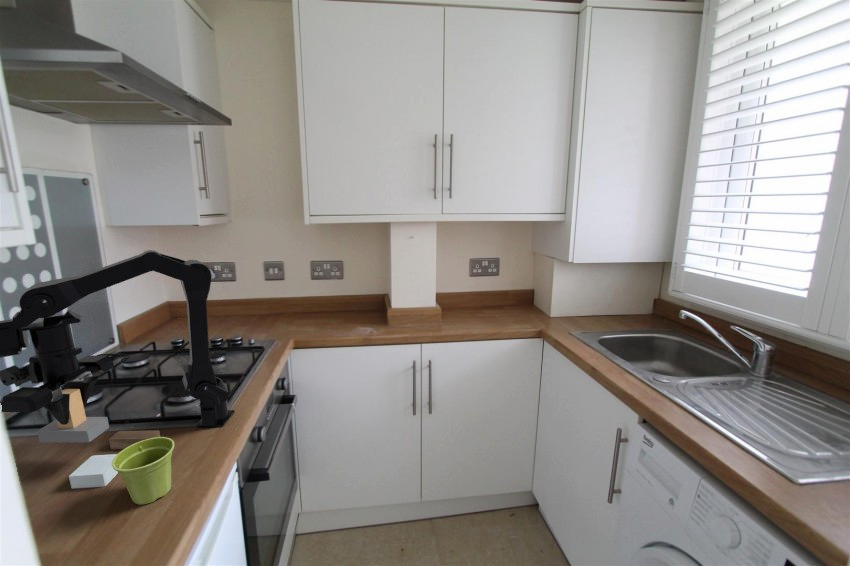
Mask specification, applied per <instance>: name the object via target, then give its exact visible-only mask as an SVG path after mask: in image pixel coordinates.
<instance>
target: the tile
mask: <svg viewBox="0 0 850 566" xmlns="http://www.w3.org/2000/svg"><path fill="white" fill-rule="evenodd" d="M117 454H118V453H113V454H112V453H111V454H100V455H99V454H95V455H91V456H90V457H89V458H87V459H86V460H85V461H84V462H83V463H81V465H80V466H78V467H77V468H76V469H75V470H74V471H73V472H72V473H71V474H69V476H68V479H69V482H70V487H71V489H73V490H74V489H86V488H88V489H89V488H99V487H106V486H107V485H108V484H109V483H111V481H112V480H113V479H114V478H115V477H116V476H117V475H118V474H119V473H118V472H117V471H116V470H114V469H113V467H112V461H113V459H114V458H115V456H116V455H117Z"/></svg>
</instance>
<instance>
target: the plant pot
mask: <svg viewBox="0 0 850 566" xmlns="http://www.w3.org/2000/svg"><path fill="white" fill-rule="evenodd" d="M174 448H175V441H174V440H173V439H172V438H170V437H165V436H160V437H155V438H150V439H146V440H142V441H140V442H137V443H135V444H132V445H130V446H129V447H127V448H125V449H121V450H120V451H119V452H118V453H116V454H117V455H116V456H115V458H114V459H113V461H112V467H113V469H114V470H116V471H117V472H118V474H119V475H120V476H121V479H122V481H123V482H124V484H125V487H126V489H127V492H128V494H129V495H130V499H131V501H132V502H133V503H134V504H136V505H146V504H150V503H153V502H155V501H157V500H158V499H159V498H162V497H165V496H166V495H167V494H168V493H169V492H170V490H171V488H172V455H173V451H174Z"/></svg>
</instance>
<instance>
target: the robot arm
mask: <svg viewBox="0 0 850 566" xmlns="http://www.w3.org/2000/svg"><path fill="white" fill-rule="evenodd" d="M149 272H155V273H159V274H161V275H164V276H167V277H170V278H173V279H176V280H178V281H180V284H181V288H182V291H183V293H184V297H185V301H186V312H187V313H186V314H187V315H186V316H187V329H188V330H187V331H188V341H189V343H188V345H189V360H188V364H181V369H182V370H183V371H182V372H183V377H182V379H181V380H182V382H183V385H184V389H185V391H186V392H187V391H189V395H190V396H191V397H192V398H194V399H195V400H199V408H200V416H201V419H202V421H200V420H199V421H200V422H199V421H198V422H197V423H196V427H199V428H201V427H202V428H204V427H206V428H207V427H210V428H211V427H223V426H225V425H226V424H227V422H228V421H229V420H230V419H231V418H232V416H233V415H234V414H235V411H236V410H235V409H229V404H228V403H229V402H228V398H229V395H230V392H229V390H228V389H227V387H226V385H225V383H224V381H223V380H222V379H221V378H219V377H217V376H216V375H215V371H214V368H213V365H212V362H211V358H210V342H209V341H210V340H209V325H208V323H209V322H208V308H207V307H208V306H207V302H208V297H209V293H210V290H211V284H212V277H213V275H212V271H211V270H210V268H209V267H208V266H207V265H206V264H204V263H203V262H202V261H200V260H197V259H188V260H183V259H181V258H178V257H174V256H171V255H167V254H164V253H160V252H158V251H156V250H154V249H153V250H152V249H147V250H145V251H143V252H142V253H140V254H138V255H134V256H131V257H128V258H126V259H122V260H119V261H118V262H114V263H111V264H109V265H105V266H102V267H100V268H97V269H94V270H92V271H88V272H86V273H83V274H81V275H75V276H71V277H61V278H56V279H52V280H46V281H40V282H37V283H35V284H32V285H31V286H29V287H28V288H27V289H26V291H24V292H23V294H22V295H21V297H20V299H19V307H20V310H19V311H17V312H16V313H15V314H14V315H13V316H12V318H11V319H4V320H0V359H1V358H6V357H13V356H17V355H22V353H23V349H26V348H29V346H30V341H29V335H30V339H31V344H32V347H33V351H34V355H32V356H29V359H28V362H29V363H27V364H25V365H22V366H20V367H18V366H17V365H15V364H14V365H11V366H9V367H6V368H3V369H1V370H0V381H1V382H2V384H3V386H6V387H9V386H12V385H15V387H16V388H18V387H20V386H22V385H23V384H25V383H28V382H31V384H39V383H42V384H41V385H40V386H37V387H34V386H23V387H21V388H18V389H16V390H14V391H12V392H9V393H7V394H5V395H3V396H2V397H1V398H0V403H1V405H2V410H1V413H32V412H35V411H38V410H40V409H42V408H45V409H46V410H47V411H48V412H49V413H50V414H51V416H53V417H54V419H55V420H56V419H57V420H58V421H59V422H60V424H62V425H66V424H68V420H69V402H70V394H63V393H62V390H63V389H62V388H63V387H64V389H80V393H81V397H82V402H83V406H84V410H85V409H86V406H87V403H88V401H89V398H90V395H91V394H92V391H93V388H94V387H95V384H96V383H97V381H98V380H100V376H93V373H91V372H92V371H94V370H96V369H97V370H98V371H99V372H101V373H106V372H107V371H110V370H112V369H113V368H115V365H114V360H113V358H111V357H110V356H109V355H87V356H84V357H81V358H80V359H79V358H78V355H80V354H82V353H83V349H82V347H76V344H75V341H74V336H73V331H72V327H71V325H73V324H78V323H81V322H82V317H83V316H82V315H81V314H79V313H76V312H74V311H72V310H71V309H67V308H69V307H71V306H72V305H74V304H75V303H77V302H79V301H80V300H82V299H83V298H86V297H87V296H88V295H91V294H94V293H97V292H99V291H102V290H104V289H107V288H109V287H112V286H116V285H118V284H121V283H123V282H127V281H129V280H132V279H133V278H136V277H139V276H142V275H144V274H147V273H149ZM66 309H67V310H66ZM64 310H66V312H65V313H63V314H58V313H60V312H62V311H64ZM57 314H58V315H57ZM39 319H43V320H42V321H41V320H40V321H37V320H39ZM35 321H37V322H35ZM27 331H29V334H28V332H27Z"/></svg>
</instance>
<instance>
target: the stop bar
mask: <svg viewBox="0 0 850 566" xmlns="http://www.w3.org/2000/svg"><path fill="white" fill-rule="evenodd" d="M155 437H161V433H160V430H119V431H117V432H116V433H115V434H114V435H112V436H111V437H109V439H108V441H109V442H108V443H109V446H110V450H124V449H125V448H127V447H129V446H130V445H132V444H135V443H137V442H140V441H142V440H146V439H150V438H155Z"/></svg>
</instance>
